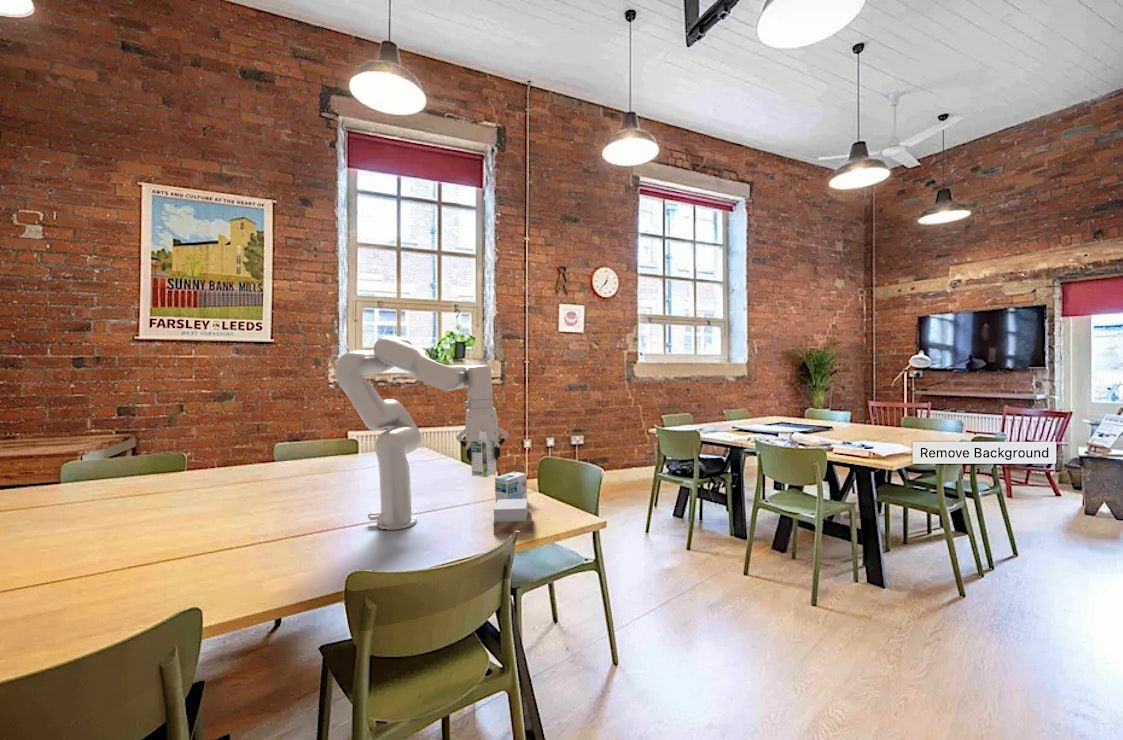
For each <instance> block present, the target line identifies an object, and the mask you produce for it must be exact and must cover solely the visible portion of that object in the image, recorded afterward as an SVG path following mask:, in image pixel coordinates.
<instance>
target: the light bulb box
mask: <svg viewBox="0 0 1123 740" xmlns="http://www.w3.org/2000/svg"><path fill="white" fill-rule="evenodd" d="M527 485H528V478H527V473H524V472H519V471H512V472H508V473H504V474H502V475H499V476H495V477H494V488H495V489H494V491H495V492H494V493H495V503H496V502H497V500H498V499H528V486H527Z"/></svg>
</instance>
